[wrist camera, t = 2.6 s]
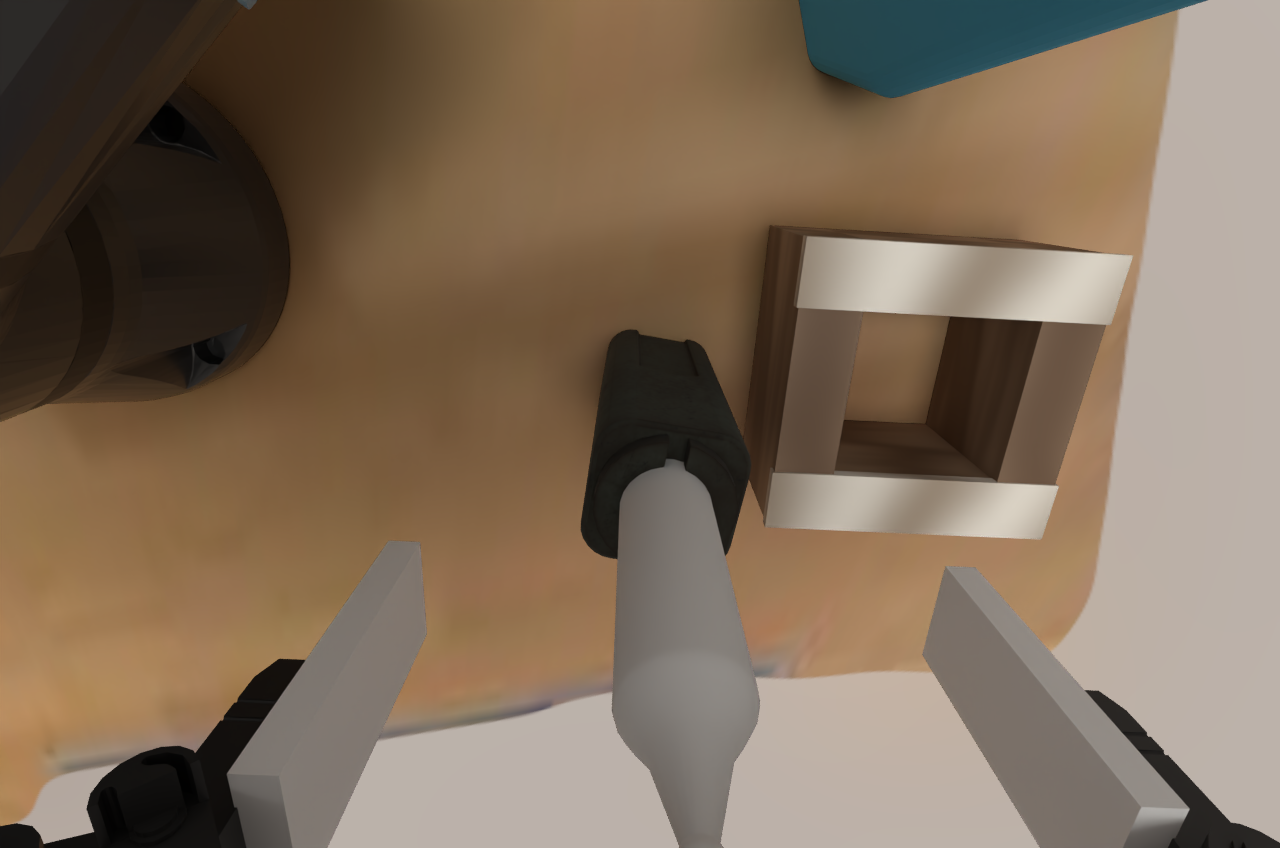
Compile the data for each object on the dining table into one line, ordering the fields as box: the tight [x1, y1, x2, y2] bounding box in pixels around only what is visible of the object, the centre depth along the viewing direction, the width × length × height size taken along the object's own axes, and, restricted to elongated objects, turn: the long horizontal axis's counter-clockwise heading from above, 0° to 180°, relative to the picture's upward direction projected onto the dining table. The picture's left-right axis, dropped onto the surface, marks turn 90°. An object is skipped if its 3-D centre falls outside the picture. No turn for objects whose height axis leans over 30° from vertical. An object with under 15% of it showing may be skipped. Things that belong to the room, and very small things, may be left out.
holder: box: [744, 225, 1133, 539], centre depth 29 cm, size 12×12×7 cm
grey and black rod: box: [581, 330, 760, 848], centre depth 21 cm, size 5×5×25 cm
